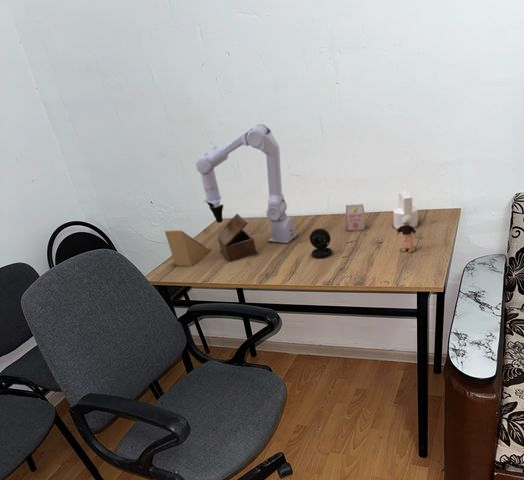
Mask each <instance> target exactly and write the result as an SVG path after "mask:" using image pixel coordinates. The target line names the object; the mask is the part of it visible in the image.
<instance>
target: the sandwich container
mask: <svg viewBox="0 0 524 480" xmlns="http://www.w3.org/2000/svg"><path fill="white" fill-rule="evenodd" d="M164 233H165V236H166V237H165V238H166V239H167V243H168V246H169V249H170V253H171V255H172V258H173V260H174V264H175V266H183V267H184V266H186V267H192V266H193V265H195V264H196V263H197V262H199V261H200V260H201V259H202V258H203V257H204V256H205V255H207V254H208V253H209V252H210V251H211V249H209V248H208V247H206V246H205V245H203V244H202V243H201V242H199V241H197V240H196V239H194V238H193V237H191V236H190V235H189V234H187V233H186V232H184V231H183V230H178V229H177V230H174V229H172V230H164Z"/></svg>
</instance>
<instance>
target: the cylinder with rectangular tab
mask: <svg viewBox="0 0 524 480" xmlns="http://www.w3.org/2000/svg"><path fill="white" fill-rule="evenodd" d="M418 212H419V209H418V207H417V206H414V205H413V196H412V195H411V194H410V193H409V191H407V190H403V191H398V207H396V208H394V209H393V227H394V228H395V229H396V230H397V229H398V228H399V227H401V226H405V225H404V224H403V223H402V222H401V221H402V218H403V217H404V216H406V215H410V216H411V223H410V226H412V227H413V228H416V227H417V226H418V223H419V222H418V221H419V218H418V217H419V213H418Z"/></svg>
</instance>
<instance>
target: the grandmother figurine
mask: <svg viewBox="0 0 524 480" xmlns="http://www.w3.org/2000/svg"><path fill="white" fill-rule="evenodd" d="M401 222H402V223H403V224H404V225H405V226H401V227H399V228H398V229H397V228H396V233H395V236H400V235H399V234H401V246H402V247H401V248H402V249H401V252H409V253H412V252H414V251H416V248H415V247H414V242H413V241H414V239H413V236H414V238H418V234H417V230H416V229H415V227H412V226H410V223H411V216H410V215H406V216H404V217H403V218H402V221H401Z"/></svg>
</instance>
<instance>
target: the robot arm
mask: <svg viewBox="0 0 524 480" xmlns="http://www.w3.org/2000/svg"><path fill="white" fill-rule="evenodd" d="M272 133H273V132H272V129H271V128H269V127H268V126H266V125H265V124H263V123H259V124H257V125H256V126H255V127H251V128H249V129H247V130H245V131H243V132H242V133H240V134H239V135H237V136H236V137H235V138H234V139H232V140H231V141H230V142H228V143H227V144H226V145H215V146H214V147H212V150H211V151H209V152H206V153H204V155H203V156H202V157H201V158H199V159H198V160H197V161H196V163H195V167H196V171H197V172H199V174H200V178H201V181H202V186H203V190H204V194H205V199H204V200H203V203H206V204H207V205H208V206H209V207H208V208H209V210H210V211H211V212H212V214H213V217H214V218H215V221H216V223H223V209H224V205H223V204H220V203H221V199H222V196H221V194H220V189H219V186H218V181H217V177H216V172H215V168H216V167H218V166H219V165H221V164H222V163H223V162H225V161H226V160H228V158H229V154H230V153H233V152H235V150H237V149H239V148H240V147H241V146H245V147H249V146H250V147H252V148H254V149H256V150H259V151H261V152H262V153H263V154H265V157H266V158H265V159H266V170H267V185H268V200H267V209H266V211H265V212H266V217H267V218H268V219H269V224H270V230H271V236H272V237H271V238H269V239H268V242H272V243H282V244H283V243H284V244H288V243H289V242H291V241H292V240H293V239H295V238H296V237H297V236H298V234H296V233H297V232H296V226H295V221H294V219H292V218H290V217H288V215H287V212H286V210H287V208H288V206H287V202H286V200H285V195H284V194H283V190H282V187H283V186H282V171H281V154H280V146H279V143H278V142H277V140H276V139H275V137H274V134H272Z"/></svg>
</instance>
